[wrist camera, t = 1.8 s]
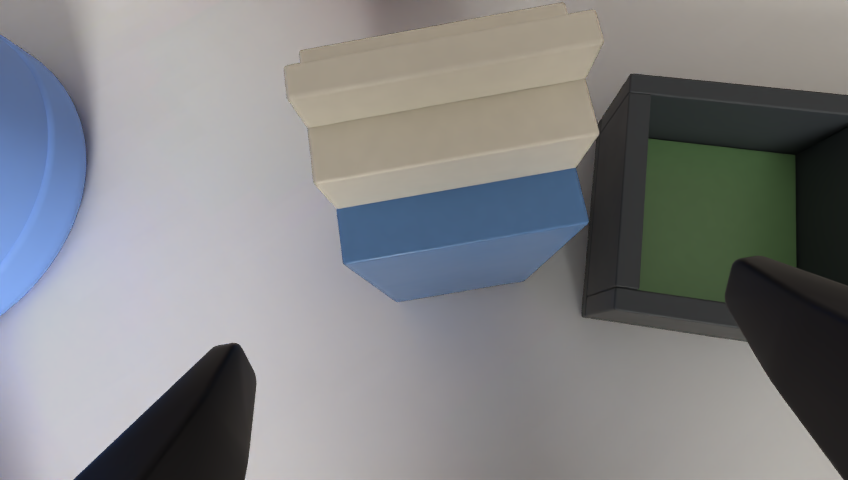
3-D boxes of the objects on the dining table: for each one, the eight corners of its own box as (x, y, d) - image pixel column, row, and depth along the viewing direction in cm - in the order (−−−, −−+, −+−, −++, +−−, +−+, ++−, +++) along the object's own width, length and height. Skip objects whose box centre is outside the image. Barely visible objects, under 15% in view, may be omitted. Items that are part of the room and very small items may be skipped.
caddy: (1028, 384, 18) (1195, 396, 14) (580, 317, 19) (613, 310, 15) (1005, 168, 20) (1146, 124, 16) (597, 123, 21) (630, 72, 17)
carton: (525, 281, 20) (644, 175, 7) (395, 302, 20) (299, 234, 8) (499, 159, 21) (564, -106, 9) (378, 180, 21) (269, -50, 9)
